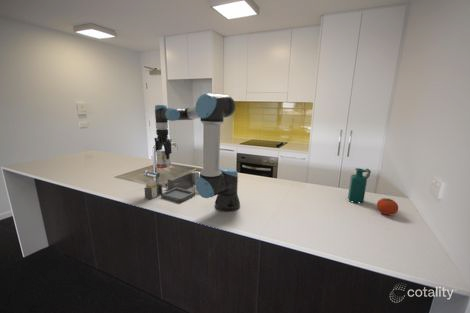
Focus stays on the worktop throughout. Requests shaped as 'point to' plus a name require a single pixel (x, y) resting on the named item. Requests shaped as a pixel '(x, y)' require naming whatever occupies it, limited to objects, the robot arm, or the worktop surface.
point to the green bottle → (358, 185)
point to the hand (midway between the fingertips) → (164, 163)
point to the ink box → (162, 159)
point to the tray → (178, 195)
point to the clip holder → (155, 188)
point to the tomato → (387, 206)
